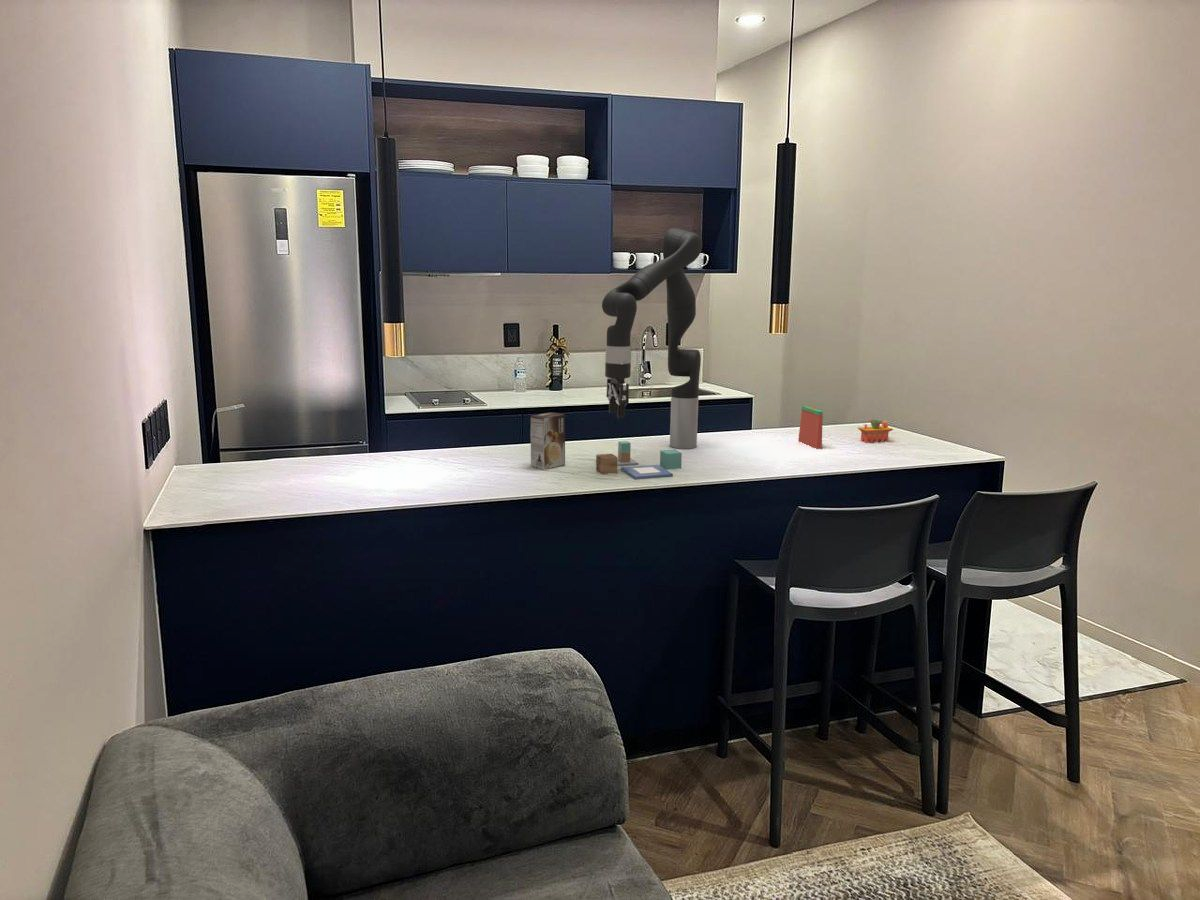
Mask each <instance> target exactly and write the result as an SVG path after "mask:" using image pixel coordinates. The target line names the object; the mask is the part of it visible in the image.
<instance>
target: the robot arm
mask: <svg viewBox="0 0 1200 900" xmlns="http://www.w3.org/2000/svg"><path fill="white" fill-rule="evenodd" d="M662 239H663V240H662V259H661V260H658V261H655V262H652V263H651V264H648V265H645V266H644V267H642V268H641V269H639V270H638V271H637V272H635V274H634V275H632V277H630V278H629V279H628V280H627V281H625V282H624V283H621V284H619V285H618V286H616V287H614V288H613V289H611V290H610V291H609V292H607V293H606V295H604V297H603V300H602V302H601V308H602V311H603V313H604V314H605V315H607V316H609V317H612V318H613V317H615V318H616V319H615V323H614V324H613V325H610V326H608V327H607V329H606V347H605V358H604V359H605V364H604V365H605V366H604V368H605V369H604V376H605V377H606V378H607V379H606V398H607V400H608V413H609V414H611V415H612V414H616V416H617V417H616V418H618V419H625V418H626V406H627V405H628V404H629V403H630V402H629V401H630V400H629V399H630V396H629V395H630V394H629V392H630V389H629V388H630V386H629V385H630V384H629V383H626V382H625V381H626V380H625V379H629V378H630V377H631V365H632V364H631V363H632V362H631V361H632V350H631V336H632V335H631V332H632V329H633V325H634V322H635V318H636V314H637V311H638V310H637V308H638V306H637V305H638V304H637V302H638V301H642V300H643V299H645V298H646V297H648V296H649V294H650V293H651V292H652V291H654V290H655V289H656V288H657V287H658V286H659V285H660V284H661V283H663V282H664V281H665V283H666V313H667V314H666V315H667V331H668V339H667V340H668V341H667V342H668V346H667V370H668V373H669V375H670V376H673V377H682V378H683V377H687V378H688V377H689V380H688V381H686V382H684V383H683V384H680V385H675V386H673V387H672V388H671V391H670V395H671V397H670V422H669V423H670V424H669V425H670V426H669V428H670V429H669V446H670V447H671V448H675V449H685V450H686V449H688V450H689V449H694V448H696V447H697V445H698V441H697V440H698V420H699V419H698V417H699V396H700V395H699V393H700V392H699V390H700V389H699V388H700V376H701V375H700V374H701V373H700V372H701V364H702V363H701V361H702V360H701V359H702V355H701V352H700V350H698V349H692V348H689V349H688V348H679V347H678V346H679V344H680V342H681V340H682V338H683V336H684V335H685V334H686V332H687V331H688V330H689V328H690V326H691V325H692V324H693V322H694V321H695V318H696V315H697V310H696V309H697V304H696V303H697V302H696V301H697V299H696V294H695V292H694V289H693V287H692V285H691V283H690V282H689V280H688V278H687V275H686V274H685V270H684V268H686V267H687V266H689V265H690V264H692V263H693V262H694V261H696V260H697V259H698V257H699V256H700V254H701V253H702V249H703V240H702V238H701V236H700V235H699V234H697V233H695V232H692V231H689V230H684V229H681V228H676V227H675V228H674V227H672V228H669V229H668V230H667V231H666V232H665V233H664V235H663V238H662Z"/></svg>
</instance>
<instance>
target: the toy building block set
mask: <svg viewBox="0 0 1200 900" xmlns="http://www.w3.org/2000/svg"><path fill="white" fill-rule="evenodd" d="M823 413H824V411H822V410H819V409H816V407H815V406H814V405H811V406H806V405H802V406H801V414H800V420H799V421H800V422H799V432H798V441H799V442H798V441H797V442H798V443H800V442H802V443H801V444H803V443H804V444H803V445H805V444H806V445H805V446H808V445H809V446H808V447H810V446H811V448H812V449H815V448H816V450H822V449H823V418H824V417H823V415H824V414H823ZM868 422H869V423H870V424H871V425H870V426H868V425H867V424H864V425H863V426H862V427H861V426H859V427H858V426H857V429H858V430H859V431H860V434H861V435H860V442H864V443H865V444H868V442H869V443H870V444H872V443H878V442H880V443H884V442H886V443H888V441H889V433H890V432H892V431H893V430H894V428H891V427H889V424H888V421H887V420H883V421H882V420H879V419H868Z"/></svg>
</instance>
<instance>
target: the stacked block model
mask: <svg viewBox="0 0 1200 900" xmlns="http://www.w3.org/2000/svg"><path fill="white" fill-rule="evenodd" d="M631 446H632V445H631V442H629V441H627V440H624V441H618V442H617V452H618V453H617V467H628V466H639V462H638V461H637V460H635V459H633V458H632V457H631V449H632V447H631Z"/></svg>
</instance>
